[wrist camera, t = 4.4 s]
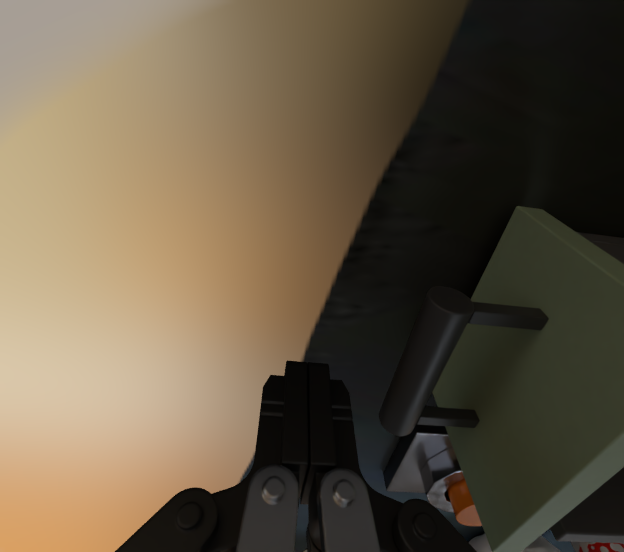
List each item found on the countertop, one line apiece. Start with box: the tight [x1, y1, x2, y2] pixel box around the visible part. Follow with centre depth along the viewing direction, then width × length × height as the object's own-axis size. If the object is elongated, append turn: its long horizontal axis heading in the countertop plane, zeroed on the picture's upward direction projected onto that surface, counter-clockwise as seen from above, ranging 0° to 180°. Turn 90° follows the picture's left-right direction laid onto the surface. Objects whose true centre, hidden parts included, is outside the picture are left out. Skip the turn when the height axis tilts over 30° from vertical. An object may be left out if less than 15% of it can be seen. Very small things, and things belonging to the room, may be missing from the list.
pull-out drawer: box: [379, 206, 624, 552], centre depth 14 cm, size 18×11×8 cm, turn 82°
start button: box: [447, 479, 482, 526], centre depth 23 cm, size 4×4×2 cm
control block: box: [383, 424, 465, 512], centre depth 25 cm, size 10×8×3 cm
